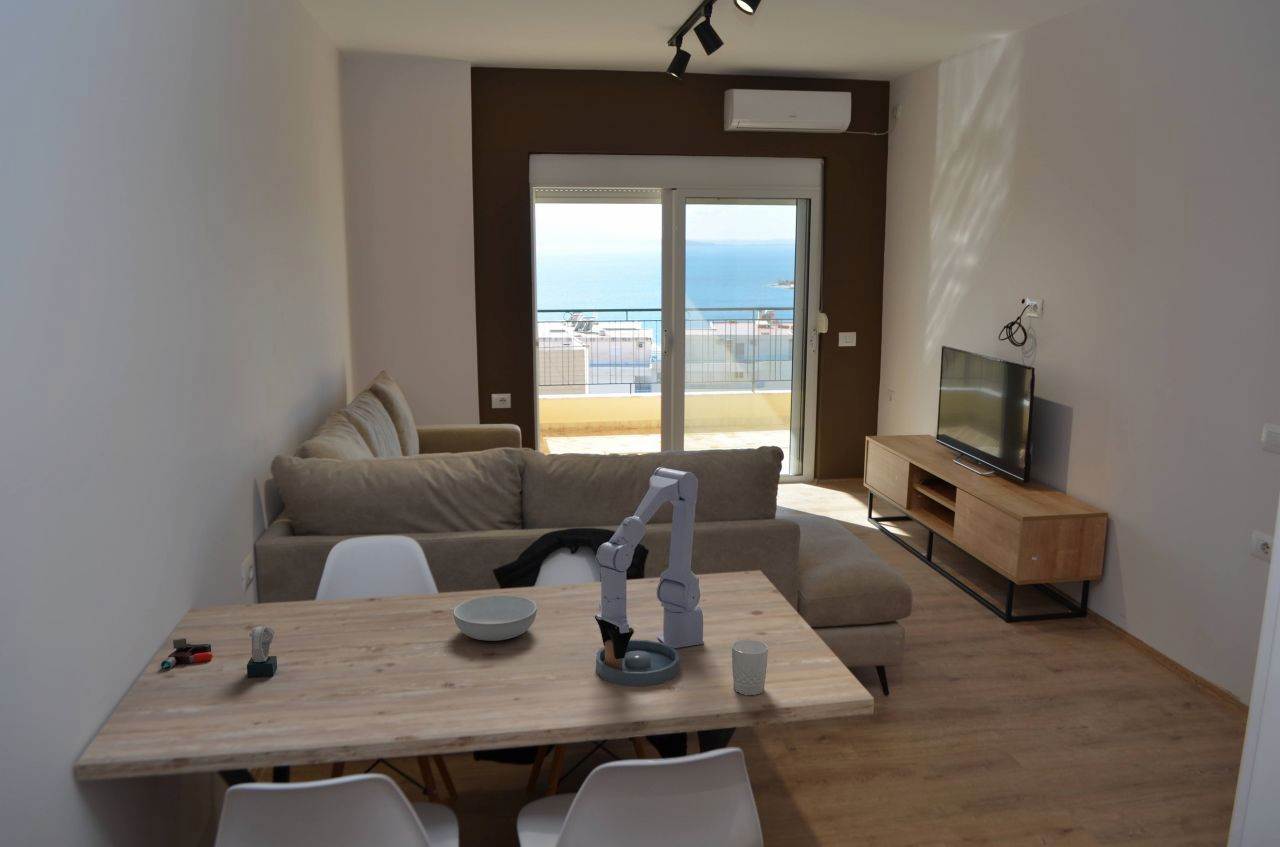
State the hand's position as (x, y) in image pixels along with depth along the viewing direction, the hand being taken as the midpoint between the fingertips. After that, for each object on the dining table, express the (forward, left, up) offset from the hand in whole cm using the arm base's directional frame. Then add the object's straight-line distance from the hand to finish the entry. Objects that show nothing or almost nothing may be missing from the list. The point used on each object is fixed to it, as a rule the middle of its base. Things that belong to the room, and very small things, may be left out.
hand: (614, 651), depth 218 cm
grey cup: (-25, +19, -5) cm, 32 cm away
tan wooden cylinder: (0, 0, -4) cm, 4 cm away
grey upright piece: (+75, -28, -5) cm, 80 cm away
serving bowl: (+20, -32, -5) cm, 38 cm away
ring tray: (-6, 0, -5) cm, 8 cm away
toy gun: (+91, -41, -6) cm, 100 cm away
